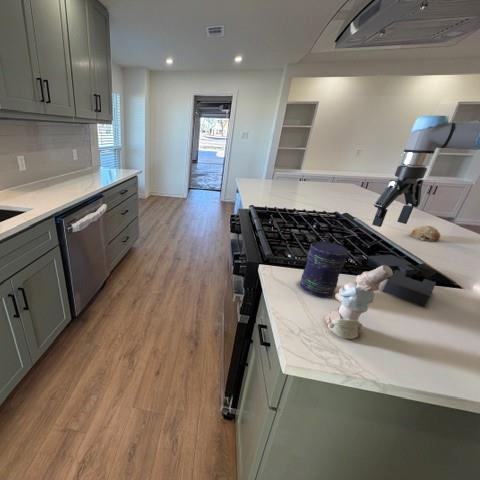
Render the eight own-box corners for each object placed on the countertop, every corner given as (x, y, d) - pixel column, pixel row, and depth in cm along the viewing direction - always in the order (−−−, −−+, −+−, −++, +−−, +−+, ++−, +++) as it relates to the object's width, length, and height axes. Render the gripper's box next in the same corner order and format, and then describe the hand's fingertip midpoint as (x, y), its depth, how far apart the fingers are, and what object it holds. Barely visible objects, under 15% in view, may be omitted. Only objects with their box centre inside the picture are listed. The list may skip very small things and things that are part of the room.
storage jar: (299, 277, 89) (310, 238, 83) (331, 285, 85) (345, 244, 79) (299, 292, 81) (311, 250, 75) (335, 301, 77) (351, 257, 71)
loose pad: (387, 263, 100) (391, 254, 99) (418, 278, 90) (422, 268, 89) (365, 264, 99) (369, 255, 97) (394, 280, 89) (398, 270, 87)
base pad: (430, 292, 82) (436, 282, 81) (424, 307, 75) (430, 296, 74) (391, 279, 89) (395, 269, 88) (382, 291, 82) (387, 281, 81)
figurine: (369, 343, 62) (402, 272, 54) (332, 338, 63) (359, 268, 55) (351, 319, 70) (377, 254, 62) (318, 314, 71) (340, 250, 63)
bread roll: (408, 243, 128) (415, 232, 123) (408, 230, 134) (416, 219, 128) (435, 248, 123) (444, 237, 118) (434, 234, 129) (443, 223, 123)
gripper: (423, 163, 93) (400, 218, 102) (375, 165, 86) (355, 223, 95) (450, 166, 87) (423, 224, 95) (400, 168, 80) (376, 230, 88)
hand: (389, 224), depth 95 cm, fingers open, 13 cm apart
